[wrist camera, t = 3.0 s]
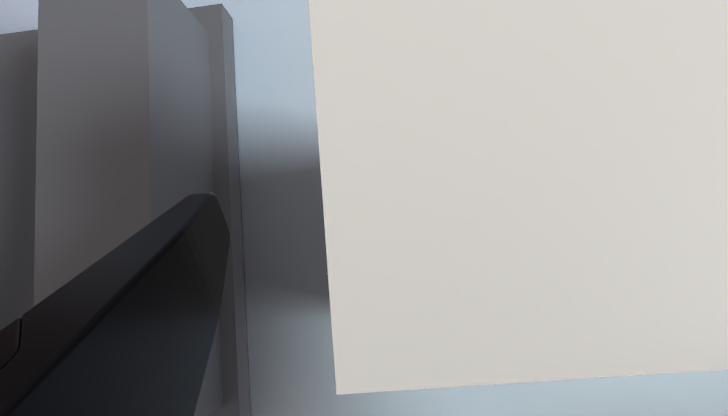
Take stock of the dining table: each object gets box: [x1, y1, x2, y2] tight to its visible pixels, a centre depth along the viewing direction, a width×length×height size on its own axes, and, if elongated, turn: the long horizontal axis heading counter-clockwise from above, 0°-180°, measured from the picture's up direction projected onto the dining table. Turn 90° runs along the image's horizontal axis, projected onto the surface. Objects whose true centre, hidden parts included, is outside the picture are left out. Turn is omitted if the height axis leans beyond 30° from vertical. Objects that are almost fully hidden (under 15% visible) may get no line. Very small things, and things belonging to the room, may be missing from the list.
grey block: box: [308, 0, 728, 395], centre depth 10 cm, size 5×4×12 cm
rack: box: [0, 0, 251, 416], centre depth 16 cm, size 14×12×5 cm
